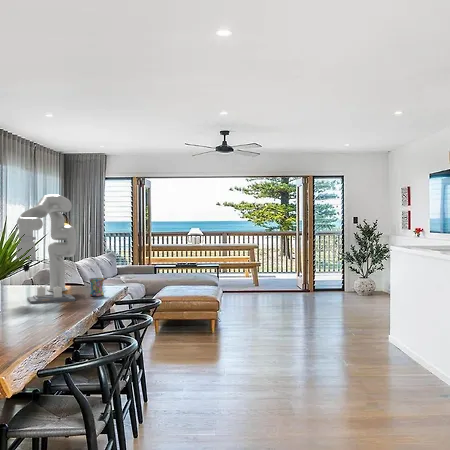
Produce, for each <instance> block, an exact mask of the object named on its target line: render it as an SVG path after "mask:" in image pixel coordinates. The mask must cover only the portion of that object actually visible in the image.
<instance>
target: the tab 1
mask: <svg viewBox="0 0 450 450" xmlns="http://www.w3.org/2000/svg"><path fill="white" fill-rule="evenodd" d="M36 295H37V297H43V296H45V295H46V287H45V286H43V285H42V284H41V285H39V286H36Z"/></svg>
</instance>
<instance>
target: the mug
mask: <svg viewBox="0 0 450 450" xmlns="http://www.w3.org/2000/svg"><path fill="white" fill-rule="evenodd" d="M88 281H89V283H90V292H89V296H91V297H102V296H104V295H105V294H104V289H103V284H104V281H105V278H104V277H90V278H88Z"/></svg>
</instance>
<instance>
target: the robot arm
mask: <svg viewBox="0 0 450 450" xmlns="http://www.w3.org/2000/svg"><path fill="white" fill-rule="evenodd" d="M72 207H73V206H72V202H71V200H70V199H69V198H67V197H65V196H63V195H60V194H45V195H43V196H42V197H41V198H40V199H39V201H37V204H35V206H33V207H30V208H29V209H27V210H25V211H24V212H22V213H21V214H20V215H19V217H18V219H17V221H16V227H17V229H18V240H19V239H20V238H21V237H22V236H23V235H24V234H25V235H24V236H23V237H22V238H21V239H22V240H21V242H20V243H19V245H18V246H17V245H16V251H18V250H19V249H21V248H22V249H21V250H20V251H19V252H18V253H17V254H16V259H17V258H19V257H20V256H21V255H23V254H24V253H25V252H26V251H27V250H29V249H31V248H32V247H33V248H32V249H31V250H30V251H29V252H28V253H27V254H26V255H25V256H24V257H23V258H22V259H21V260H23V259H25V258H26V257H28V256H30V255H31V257H30V258H29V259H25V260H27V261H26V263H27V262H29V261H32V262H35V261H37V258H36V255H37V254H36V253H37V252H36V244H35V241H34V240H36V239H37V238H36V236H34V231H39V230H41V229H42V228H43V225H44V224H43V220H42V218H45V217H47V216H48V215H49V219H50V237H51V239H52V240H55V242H51V243H50V244H48V246H47V252H48V258H49V287H48V288H47V289H46V290H47V291H48V292H53V288H54V287H56V286H59V287H61V288H62V292H64V291H68V287H66V264H65V260H64V259H63V258H70V257H71V258H72V257H74V256H75V254H76V251H77V232H76V228H75V227H74V226H72V225H65V216H64V215H63V214H62V213H69V212H70V211H71V209H72ZM18 224H19V227H18V226H17V225H18ZM56 241H57V242H56ZM58 241H59V242H58ZM62 241H63V242H62ZM33 253H34V254H33ZM32 254H33V255H32ZM16 259H15V260H16ZM30 265H31V263H29V264H28V265H27V266H24V267H23V266H22V269H23V271H24V272H25V273H26V272H27V273H28V272H29V271H30Z"/></svg>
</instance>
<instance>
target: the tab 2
mask: <svg viewBox="0 0 450 450" xmlns="http://www.w3.org/2000/svg"><path fill="white" fill-rule="evenodd" d="M52 292H53V294H54V298H57V297H62V294H63V291H62V288H61V287H59V286H56V287H54V288H53V291H52Z"/></svg>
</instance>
